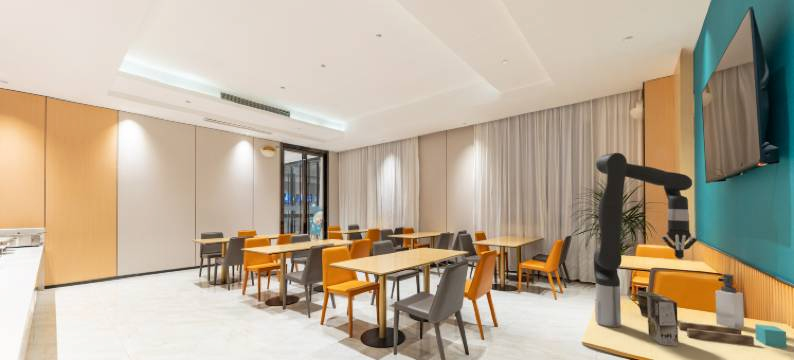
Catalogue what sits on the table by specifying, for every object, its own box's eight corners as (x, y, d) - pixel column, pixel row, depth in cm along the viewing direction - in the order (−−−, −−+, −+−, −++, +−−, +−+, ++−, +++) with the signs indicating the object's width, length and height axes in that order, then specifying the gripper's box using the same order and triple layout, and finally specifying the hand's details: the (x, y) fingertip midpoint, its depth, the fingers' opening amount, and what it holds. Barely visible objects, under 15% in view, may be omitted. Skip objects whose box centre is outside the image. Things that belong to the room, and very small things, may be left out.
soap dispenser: (713, 324, 154) (711, 273, 155) (725, 322, 156) (723, 272, 158) (731, 329, 147) (729, 277, 149) (744, 327, 150) (742, 275, 151)
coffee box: (679, 346, 130) (677, 302, 131) (659, 344, 131) (658, 301, 132) (665, 336, 139) (664, 295, 140) (647, 335, 140) (646, 294, 141)
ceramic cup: (661, 314, 165) (660, 293, 166) (664, 321, 157) (663, 298, 157) (628, 310, 172) (628, 289, 173) (629, 315, 164) (629, 294, 164)
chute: (688, 337, 138) (688, 329, 139) (679, 328, 148) (678, 321, 148) (754, 345, 131) (753, 337, 131) (739, 335, 140) (739, 328, 141)
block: (765, 345, 132) (764, 329, 132) (755, 339, 137) (755, 324, 137) (786, 348, 129) (785, 331, 130) (776, 342, 135) (775, 326, 135)
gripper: (663, 219, 154) (664, 258, 153) (700, 220, 149) (701, 261, 149) (657, 218, 161) (658, 256, 160) (693, 219, 156) (694, 258, 156)
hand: (679, 258), depth 154 cm, fingers closed
